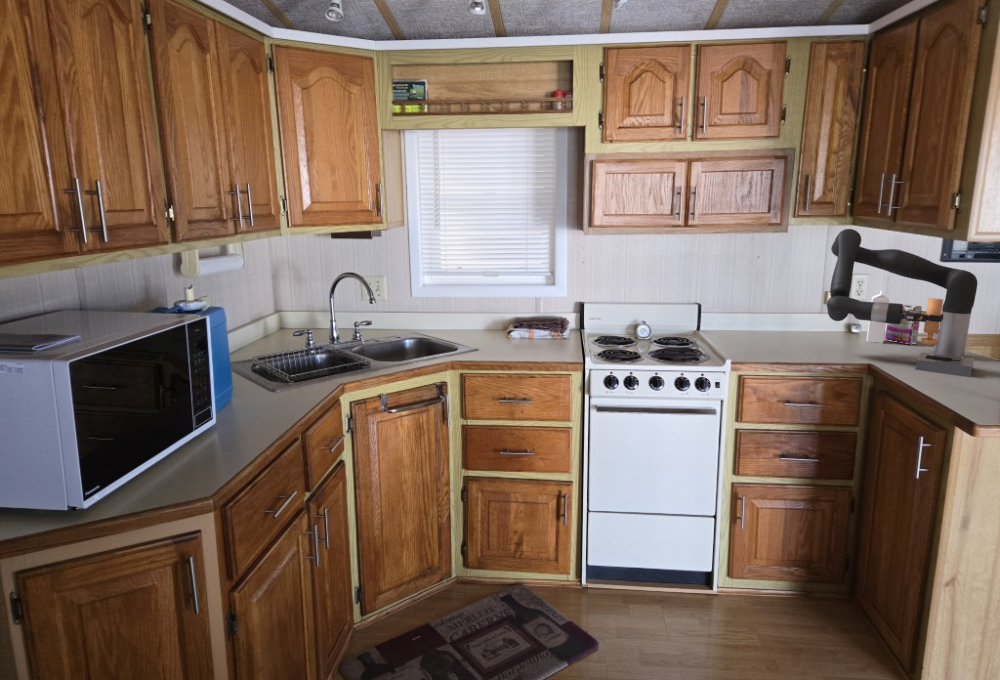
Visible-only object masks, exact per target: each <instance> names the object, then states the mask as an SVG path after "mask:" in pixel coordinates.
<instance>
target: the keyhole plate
mask: <svg viewBox="0 0 1000 680" xmlns="http://www.w3.org/2000/svg"><path fill="white" fill-rule="evenodd" d="M974 360H975V358H969V357H964V358H962V357H954V356H946V355H938V354H933V353H928V352H920V354H919V355H918V357H917V359H916V362H915V368H914V369H915V370H918V371H926V372H931V373H940V374H945V375H946V374H947V375H954V376H963V377H967V378H971V377H972V372H973V369H974V368H973V367H974V362H975V361H974Z"/></svg>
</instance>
